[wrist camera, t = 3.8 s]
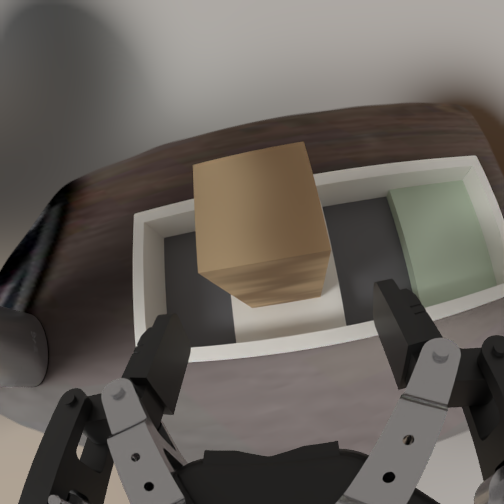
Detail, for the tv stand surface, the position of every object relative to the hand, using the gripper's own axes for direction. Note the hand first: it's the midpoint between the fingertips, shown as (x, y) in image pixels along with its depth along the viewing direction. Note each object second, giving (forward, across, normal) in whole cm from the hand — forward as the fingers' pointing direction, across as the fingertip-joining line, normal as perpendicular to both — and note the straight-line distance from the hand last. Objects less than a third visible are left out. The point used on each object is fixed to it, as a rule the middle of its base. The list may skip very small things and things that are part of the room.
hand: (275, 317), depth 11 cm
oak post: (+10, 0, +4) cm, 11 cm away
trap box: (+11, -4, +5) cm, 13 cm away
